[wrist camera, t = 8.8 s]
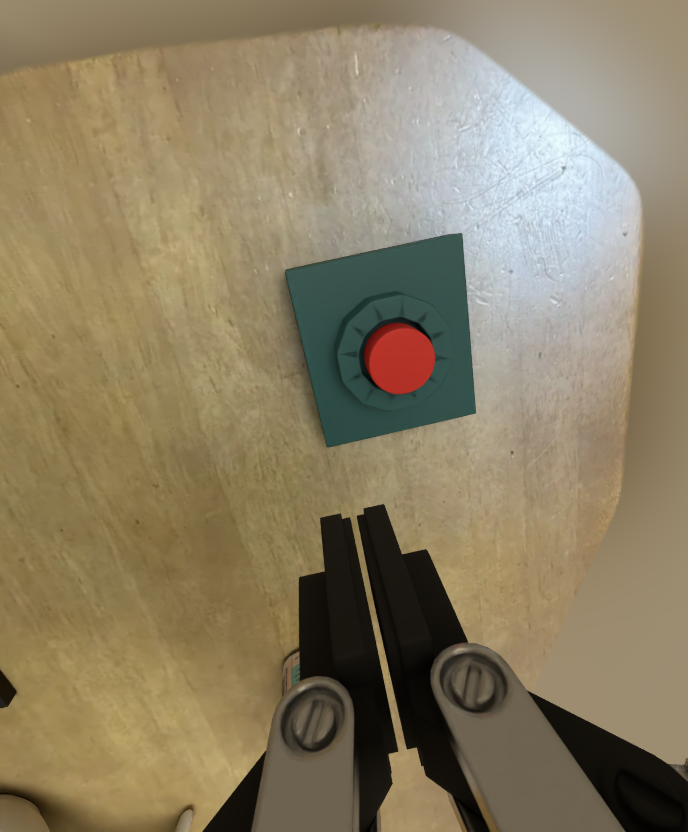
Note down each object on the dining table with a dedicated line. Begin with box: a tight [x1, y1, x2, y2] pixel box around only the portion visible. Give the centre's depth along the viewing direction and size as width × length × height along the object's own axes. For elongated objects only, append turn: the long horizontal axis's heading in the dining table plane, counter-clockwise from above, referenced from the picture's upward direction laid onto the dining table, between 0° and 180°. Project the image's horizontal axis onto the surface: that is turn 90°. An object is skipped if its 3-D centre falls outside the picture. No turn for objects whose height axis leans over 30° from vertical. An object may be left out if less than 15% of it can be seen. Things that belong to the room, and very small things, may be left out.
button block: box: [285, 233, 476, 447], centre depth 25 cm, size 11×10×4 cm
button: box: [364, 323, 435, 394], centre depth 23 cm, size 4×4×2 cm
